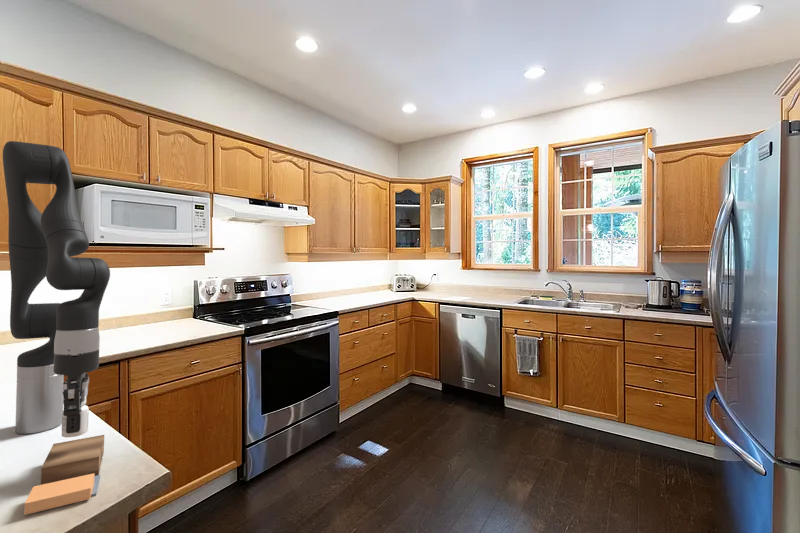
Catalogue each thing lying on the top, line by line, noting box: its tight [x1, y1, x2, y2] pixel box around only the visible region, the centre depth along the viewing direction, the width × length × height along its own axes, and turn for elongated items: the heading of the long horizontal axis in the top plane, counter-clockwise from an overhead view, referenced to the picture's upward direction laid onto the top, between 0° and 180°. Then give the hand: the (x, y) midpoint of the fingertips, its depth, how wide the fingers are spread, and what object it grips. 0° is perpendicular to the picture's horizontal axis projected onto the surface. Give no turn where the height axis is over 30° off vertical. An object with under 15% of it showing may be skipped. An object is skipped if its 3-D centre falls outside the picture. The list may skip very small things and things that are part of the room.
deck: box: [40, 434, 105, 485], centre depth 82 cm, size 12×9×4 cm
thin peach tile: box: [24, 473, 95, 516], centre depth 71 cm, size 6×9×2 cm, turn 123°
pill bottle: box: [61, 396, 90, 438], centre depth 82 cm, size 4×4×8 cm
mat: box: [91, 474, 101, 497], centre depth 74 cm, size 8×8×1 cm
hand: (75, 427), depth 82 cm, fingers closed on pill bottle, 4 cm apart
